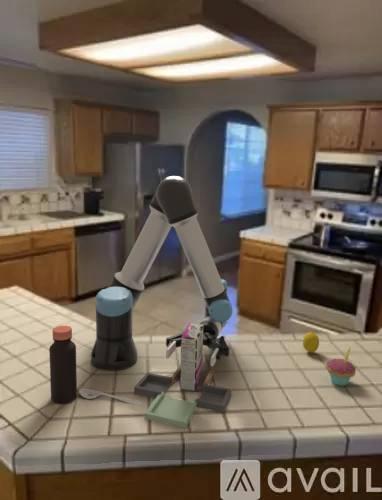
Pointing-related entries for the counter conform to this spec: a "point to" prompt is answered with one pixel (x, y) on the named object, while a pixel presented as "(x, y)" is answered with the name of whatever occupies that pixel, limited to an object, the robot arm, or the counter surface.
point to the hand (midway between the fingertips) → (189, 357)
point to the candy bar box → (191, 356)
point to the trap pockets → (209, 399)
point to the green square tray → (171, 411)
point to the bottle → (63, 366)
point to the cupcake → (340, 370)
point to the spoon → (97, 393)
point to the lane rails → (180, 372)
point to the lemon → (311, 342)
